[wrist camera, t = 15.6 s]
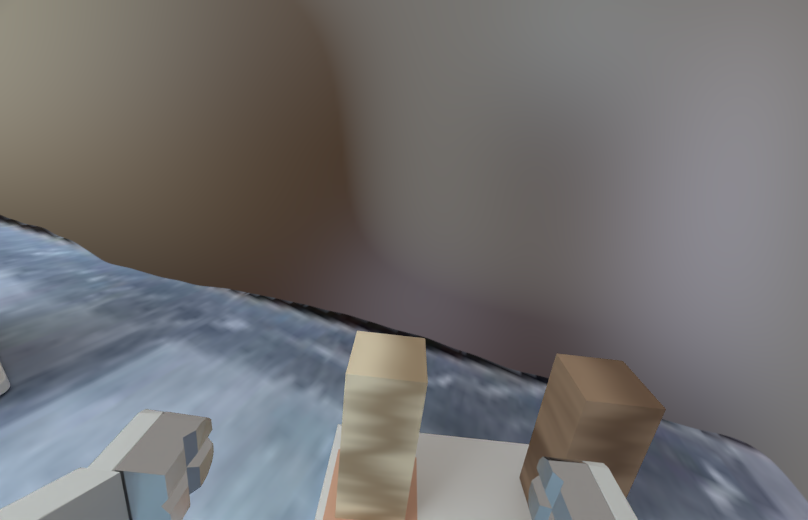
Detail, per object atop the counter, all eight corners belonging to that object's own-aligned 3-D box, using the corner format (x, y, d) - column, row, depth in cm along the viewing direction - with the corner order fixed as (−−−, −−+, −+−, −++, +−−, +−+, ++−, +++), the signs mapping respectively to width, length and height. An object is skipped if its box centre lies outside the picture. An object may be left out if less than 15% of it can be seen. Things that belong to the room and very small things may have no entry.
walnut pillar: (538, 538, 24) (586, 400, 20) (519, 477, 28) (556, 353, 24) (605, 544, 24) (665, 409, 20) (576, 483, 28) (622, 361, 24)
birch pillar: (335, 517, 24) (345, 373, 20) (346, 459, 28) (357, 330, 24) (403, 524, 24) (427, 383, 20) (405, 465, 28) (425, 338, 24)
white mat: (300, 582, 21) (301, 574, 20) (337, 429, 31) (338, 423, 31) (652, 616, 21) (657, 609, 21) (573, 454, 32) (575, 448, 31)
